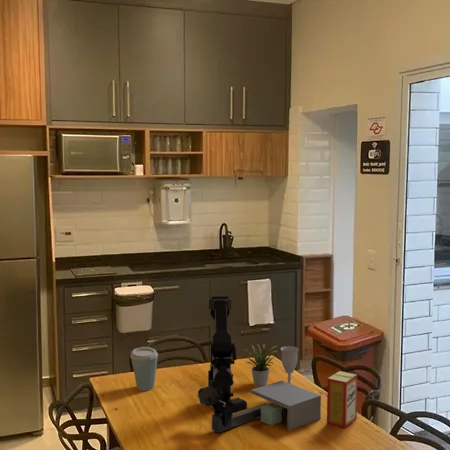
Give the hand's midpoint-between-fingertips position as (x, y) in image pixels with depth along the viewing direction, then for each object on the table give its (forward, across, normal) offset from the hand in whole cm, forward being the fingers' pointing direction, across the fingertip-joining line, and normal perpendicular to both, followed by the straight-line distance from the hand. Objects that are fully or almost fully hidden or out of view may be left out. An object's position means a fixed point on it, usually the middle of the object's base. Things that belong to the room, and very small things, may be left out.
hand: (222, 424), depth 202 cm
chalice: (+2, -8, +39) cm, 40 cm away
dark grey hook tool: (+2, +2, +9) cm, 10 cm away
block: (+2, +5, +18) cm, 18 cm away
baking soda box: (+2, +20, +36) cm, 41 cm away
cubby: (+2, +5, +25) cm, 25 cm away
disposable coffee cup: (+2, -49, +1) cm, 49 cm away
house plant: (+2, -23, +40) cm, 46 cm away
